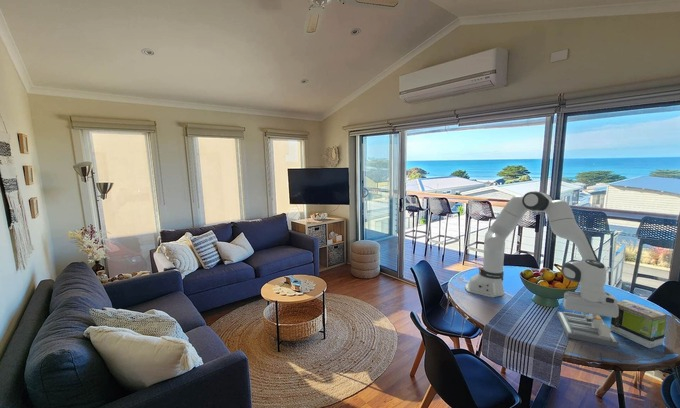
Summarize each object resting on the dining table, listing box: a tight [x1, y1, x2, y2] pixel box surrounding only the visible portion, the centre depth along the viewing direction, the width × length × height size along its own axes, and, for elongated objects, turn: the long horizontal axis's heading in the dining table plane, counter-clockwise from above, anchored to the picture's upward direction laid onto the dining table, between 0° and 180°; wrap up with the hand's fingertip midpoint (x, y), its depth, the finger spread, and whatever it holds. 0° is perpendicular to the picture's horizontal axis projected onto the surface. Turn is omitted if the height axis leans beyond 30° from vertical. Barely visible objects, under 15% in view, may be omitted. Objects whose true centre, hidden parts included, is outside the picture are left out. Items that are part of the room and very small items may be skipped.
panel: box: [556, 310, 619, 348], centre depth 141 cm, size 18×22×7 cm
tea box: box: [609, 299, 668, 349], centre depth 134 cm, size 15×10×15 cm
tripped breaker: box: [591, 315, 604, 328], centre depth 139 cm, size 3×4×5 cm
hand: (588, 321), depth 141 cm, fingers closed
